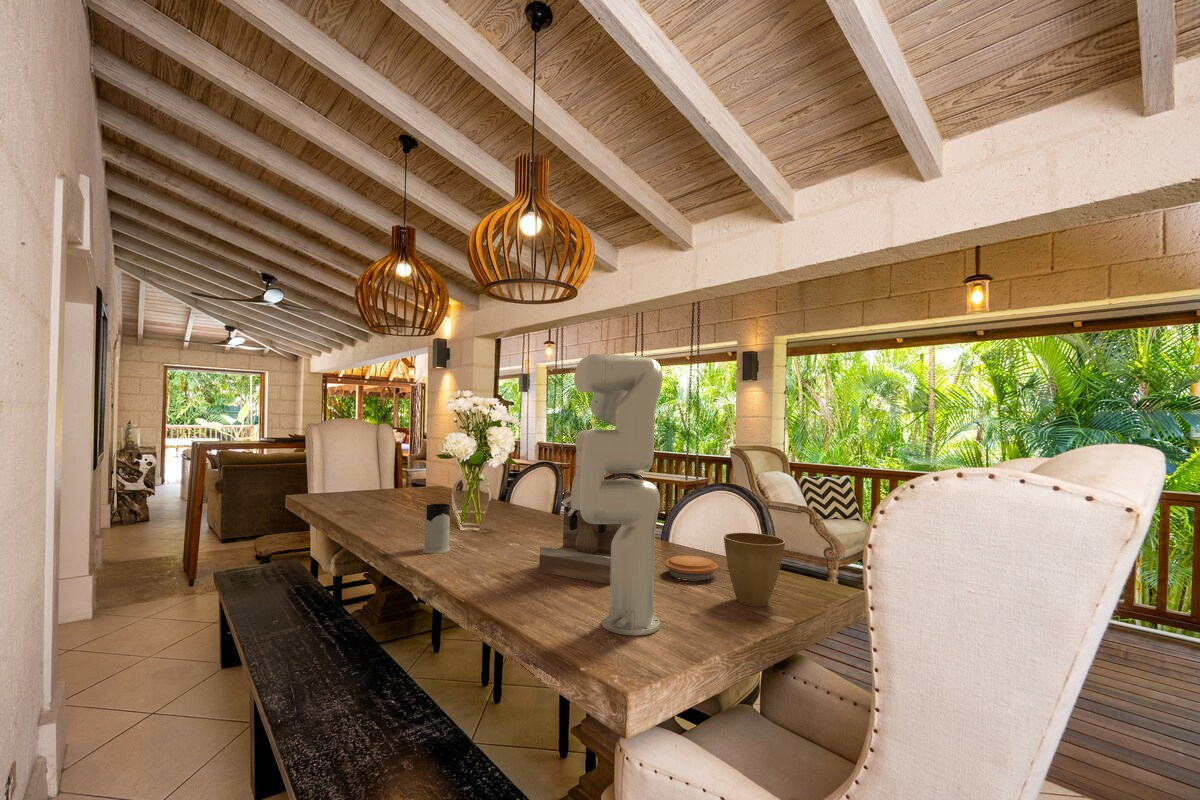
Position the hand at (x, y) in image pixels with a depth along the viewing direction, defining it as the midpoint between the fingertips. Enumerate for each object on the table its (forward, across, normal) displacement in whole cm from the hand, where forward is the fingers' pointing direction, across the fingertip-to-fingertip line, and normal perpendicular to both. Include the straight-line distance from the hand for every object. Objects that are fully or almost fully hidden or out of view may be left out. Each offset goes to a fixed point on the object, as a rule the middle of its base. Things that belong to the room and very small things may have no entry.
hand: (587, 531), depth 164 cm
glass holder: (+12, +58, +3) cm, 60 cm away
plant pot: (+13, -48, -1) cm, 50 cm away
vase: (+7, 0, 0) cm, 7 cm away
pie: (+13, -26, -15) cm, 33 cm away
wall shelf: (+12, 0, 0) cm, 12 cm away
